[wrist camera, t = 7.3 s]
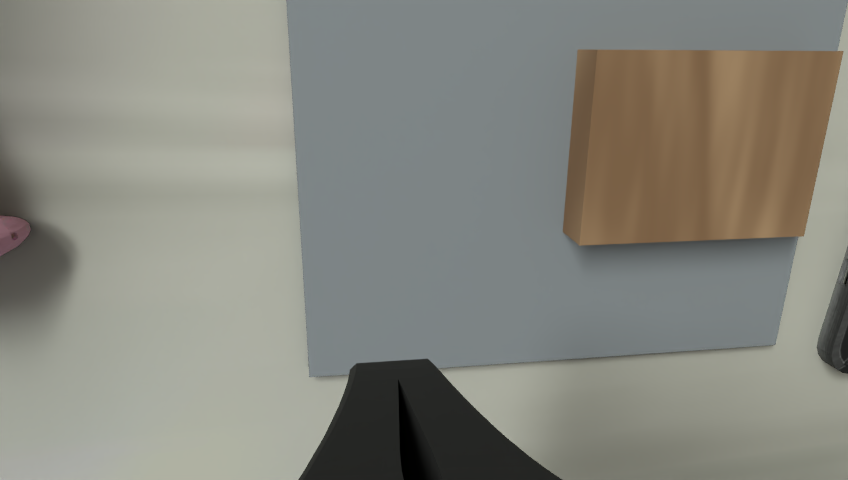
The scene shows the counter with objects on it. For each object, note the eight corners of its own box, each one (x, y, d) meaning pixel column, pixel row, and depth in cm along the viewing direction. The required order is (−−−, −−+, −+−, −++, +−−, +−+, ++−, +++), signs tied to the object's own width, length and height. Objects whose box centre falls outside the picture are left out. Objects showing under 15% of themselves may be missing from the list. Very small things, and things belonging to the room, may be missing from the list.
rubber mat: (309, 371, 21) (309, 377, 21) (278, -145, 16) (277, -149, 16) (768, 340, 24) (775, 344, 23) (862, -116, 19) (873, -119, 18)
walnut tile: (579, 245, 19) (803, 236, 20) (597, 49, 17) (843, 50, 18) (562, 231, 21) (772, 223, 22) (577, 49, 19) (807, 50, 20)
